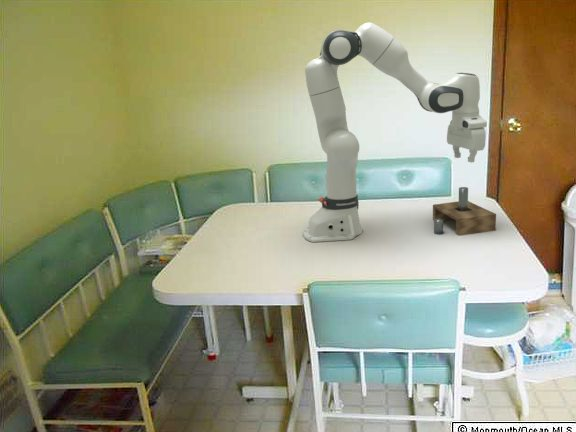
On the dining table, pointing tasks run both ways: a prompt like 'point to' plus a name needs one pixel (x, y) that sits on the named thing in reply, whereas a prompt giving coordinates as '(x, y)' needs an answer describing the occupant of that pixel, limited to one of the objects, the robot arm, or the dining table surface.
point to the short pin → (438, 226)
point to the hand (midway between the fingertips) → (464, 159)
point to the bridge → (466, 217)
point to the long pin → (463, 199)
